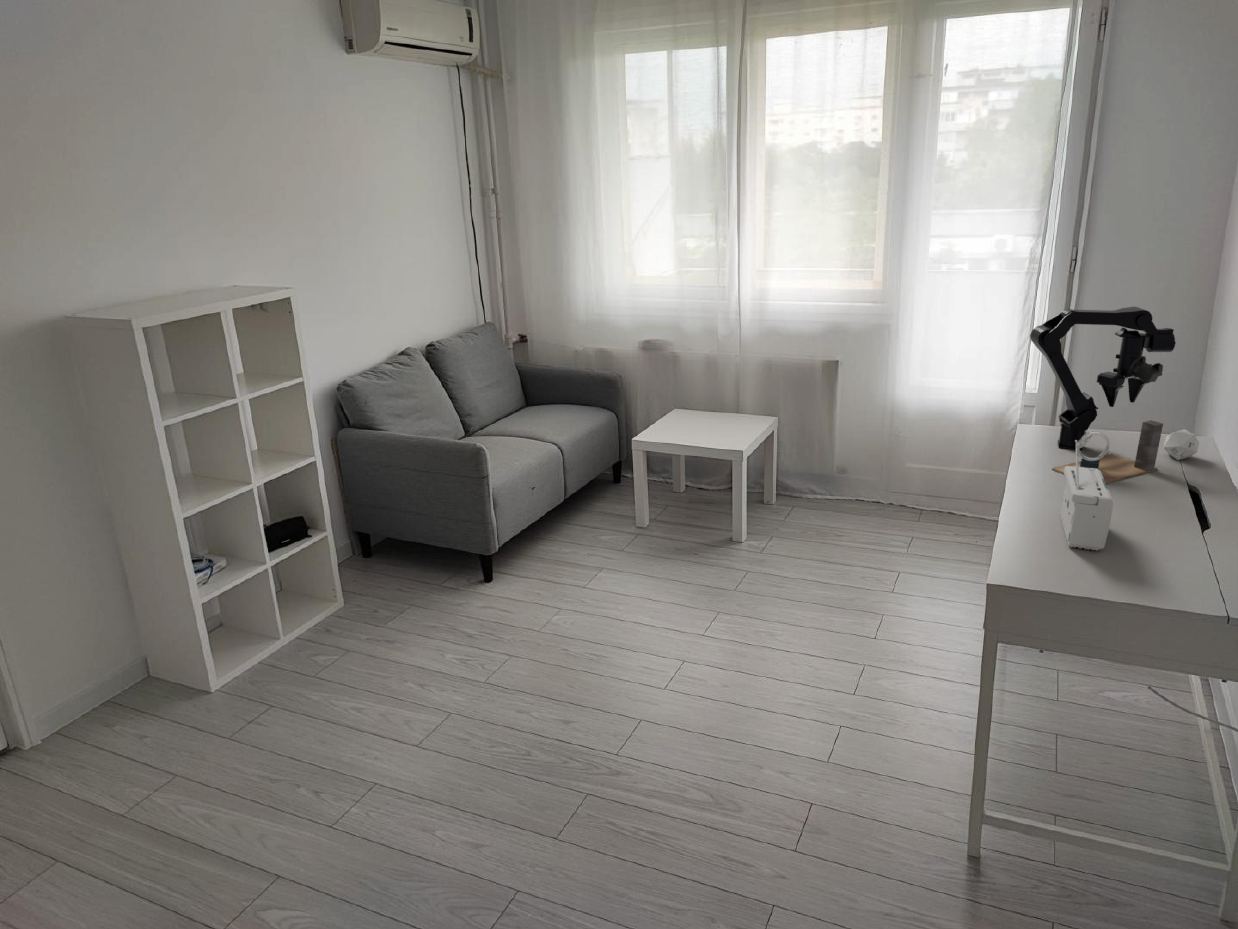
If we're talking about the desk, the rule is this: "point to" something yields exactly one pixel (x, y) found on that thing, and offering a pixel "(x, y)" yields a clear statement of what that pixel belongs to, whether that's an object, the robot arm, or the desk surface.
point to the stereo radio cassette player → (1085, 507)
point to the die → (1181, 444)
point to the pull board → (1125, 468)
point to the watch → (1086, 460)
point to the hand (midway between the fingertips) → (1121, 404)
